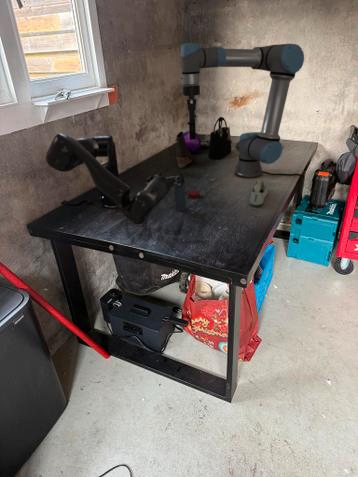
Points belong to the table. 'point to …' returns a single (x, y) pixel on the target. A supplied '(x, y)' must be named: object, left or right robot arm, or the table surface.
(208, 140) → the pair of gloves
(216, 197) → the table surface
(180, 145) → the boot
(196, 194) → the lid
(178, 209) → the jar
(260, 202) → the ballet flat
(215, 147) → the handbag
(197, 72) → the right robot arm
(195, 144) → the decorative orb
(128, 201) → the left robot arm
